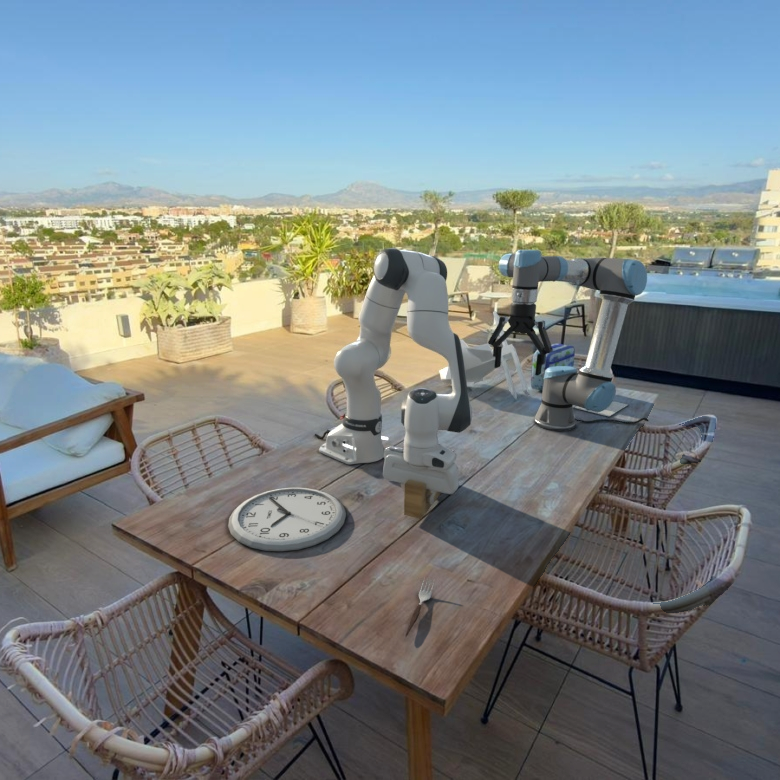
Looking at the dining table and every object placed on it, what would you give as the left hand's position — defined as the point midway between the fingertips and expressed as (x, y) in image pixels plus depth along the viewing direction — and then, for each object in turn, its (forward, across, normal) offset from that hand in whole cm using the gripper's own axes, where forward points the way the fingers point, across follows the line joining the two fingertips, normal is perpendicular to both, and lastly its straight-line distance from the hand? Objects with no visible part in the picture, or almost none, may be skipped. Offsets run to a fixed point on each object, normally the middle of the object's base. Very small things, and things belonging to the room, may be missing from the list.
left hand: (419, 500), depth 138 cm
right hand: (-26, +14, +46) cm, 54 cm away
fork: (+4, +14, -34) cm, 37 cm away
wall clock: (+4, -30, -17) cm, 35 cm away
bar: (+3, 0, +8) cm, 9 cm away
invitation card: (+4, +37, +118) cm, 124 cm away
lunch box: (+4, +13, +136) cm, 137 cm away
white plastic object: (+4, -15, +113) cm, 114 cm away
